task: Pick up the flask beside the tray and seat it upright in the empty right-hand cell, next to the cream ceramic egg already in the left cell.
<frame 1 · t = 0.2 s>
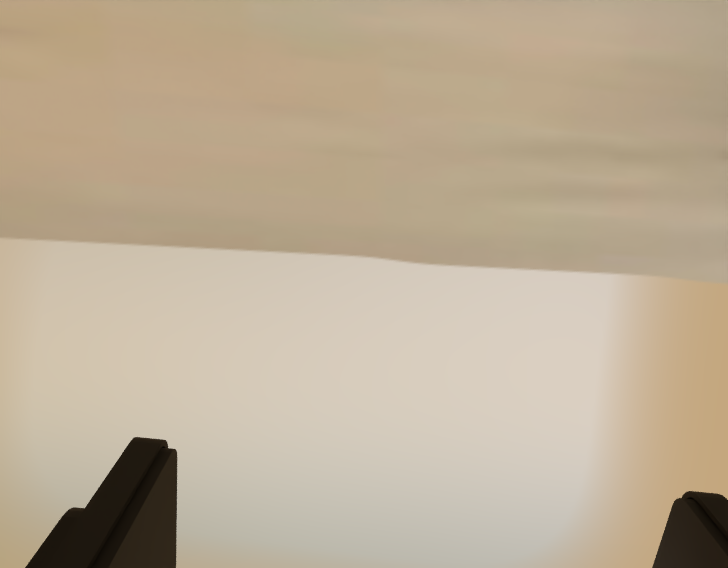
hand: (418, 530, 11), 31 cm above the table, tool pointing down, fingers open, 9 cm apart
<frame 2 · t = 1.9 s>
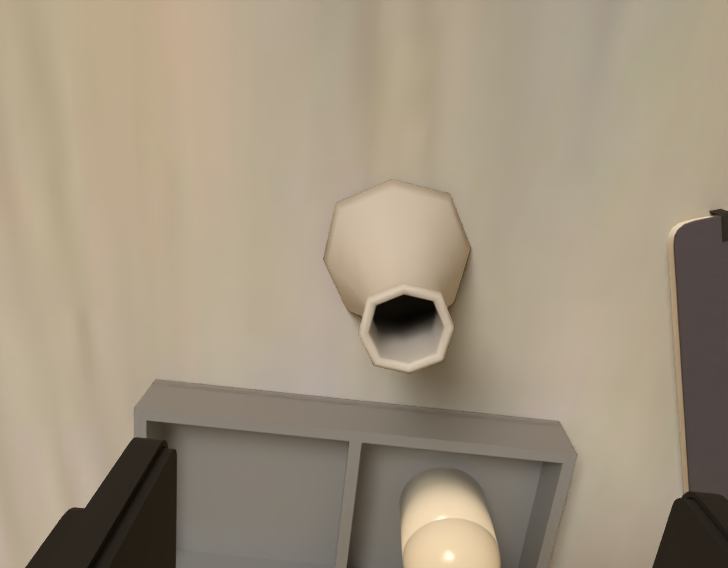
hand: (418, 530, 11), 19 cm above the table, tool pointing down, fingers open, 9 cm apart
tray: (348, 487, 33), on the table
flask: (396, 250, 29), on the table
cream egg: (442, 504, 33), point 1 cm above the table, touching tray
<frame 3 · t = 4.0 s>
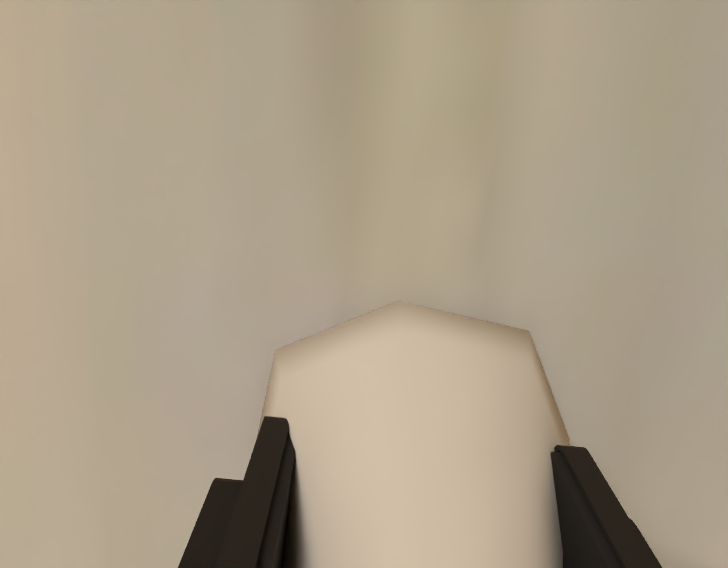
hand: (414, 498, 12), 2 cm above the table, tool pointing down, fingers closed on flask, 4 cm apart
flask: (407, 438, 14), on the table, touching gripper
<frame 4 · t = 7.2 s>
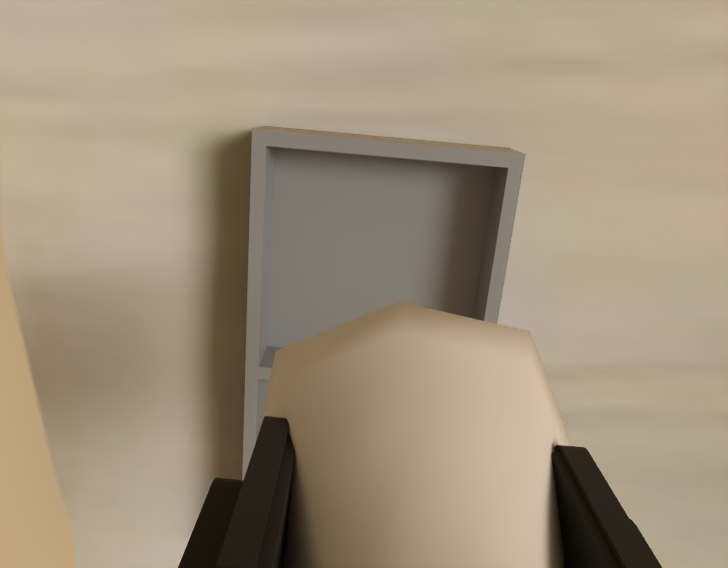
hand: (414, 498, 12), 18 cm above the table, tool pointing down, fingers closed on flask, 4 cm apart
tray: (366, 354, 30), on the table
flask: (408, 439, 14), point 16 cm above the table, touching gripper
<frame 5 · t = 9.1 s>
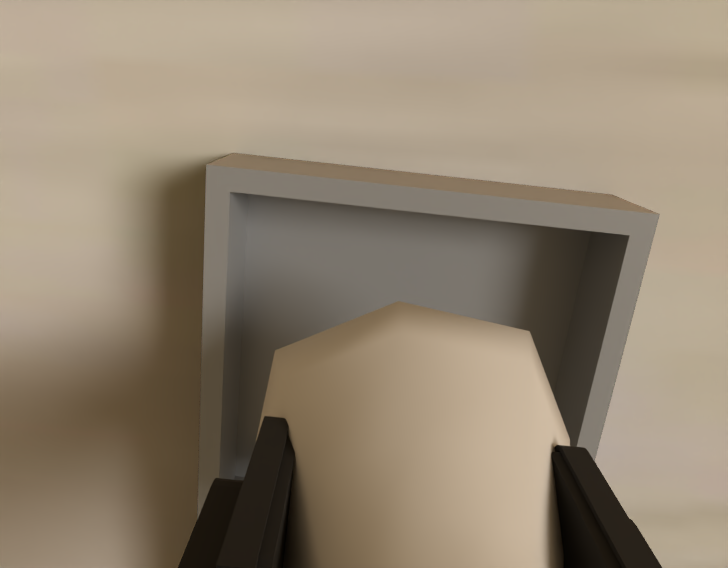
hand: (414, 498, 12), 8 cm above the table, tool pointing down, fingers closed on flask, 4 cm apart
tray: (381, 486, 21), on the table
flask: (407, 438, 14), point 5 cm above the table, touching gripper
when the fingers open (4 cm above the table, at t = 10.7 s): flask drops 1 cm, resting on tray.
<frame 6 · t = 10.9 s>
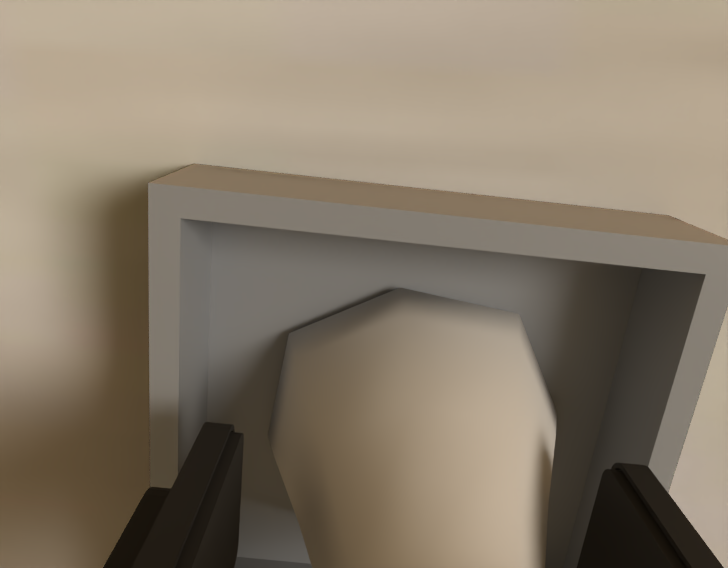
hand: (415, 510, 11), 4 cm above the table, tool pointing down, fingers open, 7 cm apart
tray: (380, 562, 17), on the table
flask: (409, 414, 15), resting on tray
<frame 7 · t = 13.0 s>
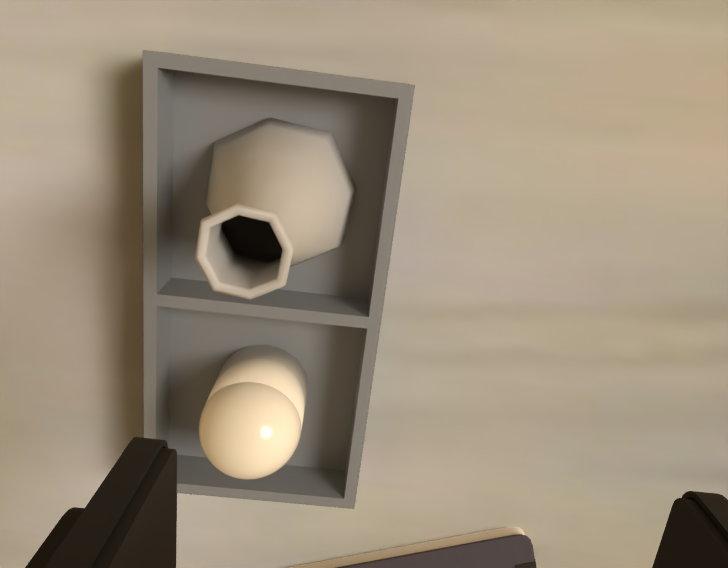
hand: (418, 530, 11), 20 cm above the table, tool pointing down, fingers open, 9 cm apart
tray: (271, 289, 31), on the table
flask: (281, 193, 29), resting on tray
cream egg: (263, 384, 32), point 1 cm above the table, touching tray
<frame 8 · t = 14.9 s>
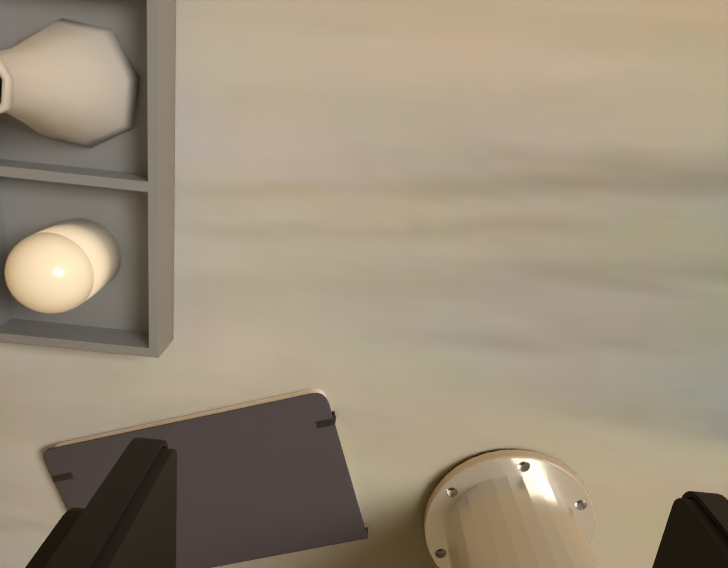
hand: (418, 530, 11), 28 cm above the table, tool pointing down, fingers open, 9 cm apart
tray: (85, 171, 37), on the table
flask: (81, 85, 35), resting on tray
cream egg: (84, 254, 38), point 1 cm above the table, touching tray
notebook: (213, 481, 45), on the table
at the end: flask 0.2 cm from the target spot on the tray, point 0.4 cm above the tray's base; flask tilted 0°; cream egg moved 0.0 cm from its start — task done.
